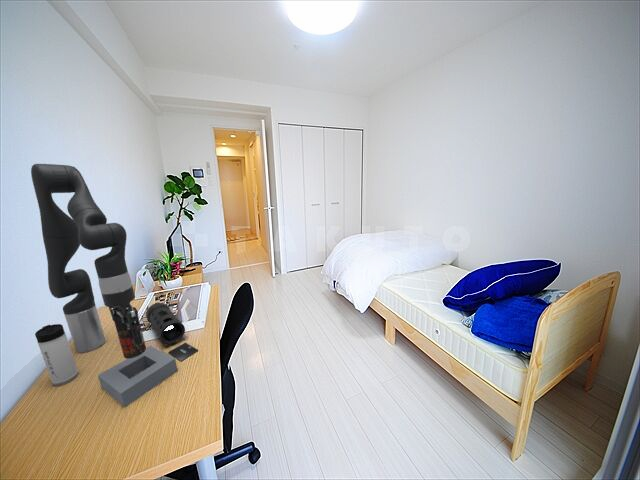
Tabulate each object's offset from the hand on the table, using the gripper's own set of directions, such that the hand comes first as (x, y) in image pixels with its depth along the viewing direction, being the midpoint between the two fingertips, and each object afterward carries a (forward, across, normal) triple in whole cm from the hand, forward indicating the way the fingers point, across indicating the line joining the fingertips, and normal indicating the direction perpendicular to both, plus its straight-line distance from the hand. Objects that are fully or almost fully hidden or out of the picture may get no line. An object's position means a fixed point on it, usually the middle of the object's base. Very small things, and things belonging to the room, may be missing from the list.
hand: (129, 335), depth 78 cm
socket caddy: (+17, 0, 0) cm, 17 cm away
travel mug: (+17, -25, -12) cm, 32 cm away
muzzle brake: (+17, -21, +20) cm, 34 cm away
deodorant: (+7, 0, 0) cm, 7 cm away
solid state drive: (+17, 0, +15) cm, 23 cm away
